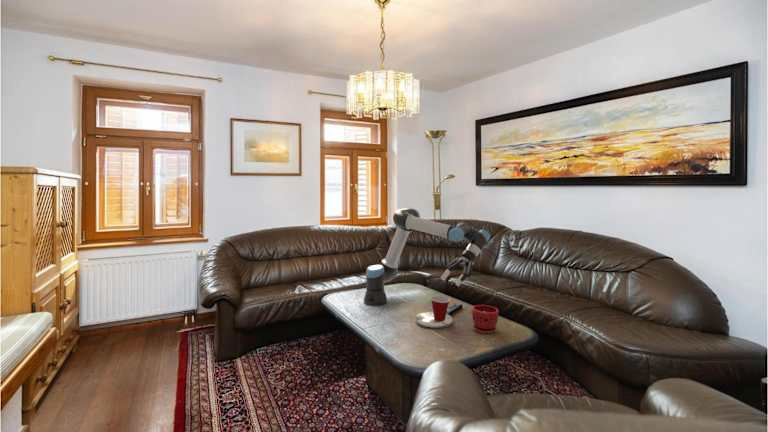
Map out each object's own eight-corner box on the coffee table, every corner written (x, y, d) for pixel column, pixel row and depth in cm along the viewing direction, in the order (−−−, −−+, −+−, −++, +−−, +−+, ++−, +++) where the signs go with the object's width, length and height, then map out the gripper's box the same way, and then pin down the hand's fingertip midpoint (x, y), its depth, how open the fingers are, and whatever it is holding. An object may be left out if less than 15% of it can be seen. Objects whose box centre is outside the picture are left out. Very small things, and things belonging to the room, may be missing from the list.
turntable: (409, 318, 209) (409, 315, 209) (438, 312, 218) (438, 309, 218) (428, 330, 191) (428, 327, 191) (459, 323, 200) (459, 320, 200)
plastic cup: (449, 324, 196) (449, 301, 194) (428, 322, 198) (428, 300, 197) (451, 316, 206) (451, 295, 205) (431, 315, 209) (431, 294, 208)
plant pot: (494, 337, 184) (494, 314, 183) (468, 332, 191) (468, 309, 190) (501, 328, 195) (501, 306, 194) (476, 324, 202) (476, 302, 201)
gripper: (489, 261, 203) (467, 291, 198) (461, 253, 225) (440, 280, 220) (482, 252, 200) (459, 283, 195) (454, 245, 222) (433, 273, 217)
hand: (449, 282), depth 207 cm, fingers open, 13 cm apart
